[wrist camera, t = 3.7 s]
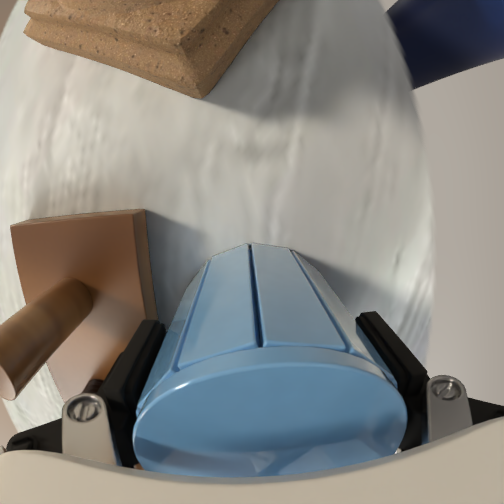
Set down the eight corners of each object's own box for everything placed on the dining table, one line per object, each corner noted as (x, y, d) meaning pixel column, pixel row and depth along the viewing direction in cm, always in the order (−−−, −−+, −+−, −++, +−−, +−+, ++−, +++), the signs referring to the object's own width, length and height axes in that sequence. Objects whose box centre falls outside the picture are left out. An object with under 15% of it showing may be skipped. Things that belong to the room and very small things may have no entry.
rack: (27, 219, 11) (-84, 262, 4) (145, 208, 12) (31, 260, 4) (108, 454, 16) (82, 527, 9) (194, 467, 16) (185, 551, 9)
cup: (303, 221, 12) (401, 304, 4) (341, 344, 14) (406, 471, 6) (160, 276, 12) (74, 402, 5) (220, 385, 14) (210, 521, 6)
